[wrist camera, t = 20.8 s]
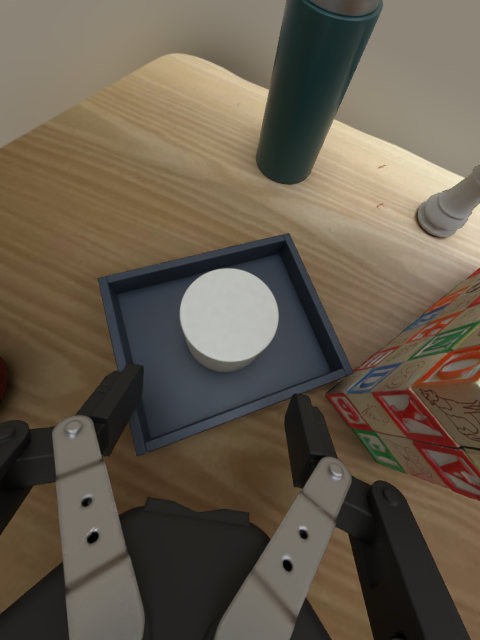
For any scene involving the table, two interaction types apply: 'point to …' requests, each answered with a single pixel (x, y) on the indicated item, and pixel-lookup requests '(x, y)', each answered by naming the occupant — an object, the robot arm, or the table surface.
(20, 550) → the table surface
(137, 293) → the tray
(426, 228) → the rook chess piece
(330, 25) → the green metal cylinder
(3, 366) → the cocoa
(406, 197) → the table surface
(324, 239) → the table surface
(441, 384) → the stack of blocks
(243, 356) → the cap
